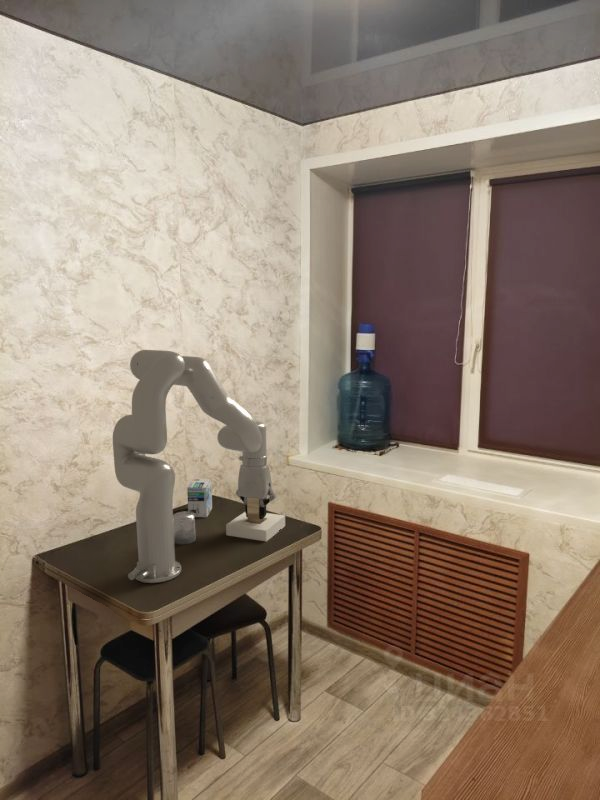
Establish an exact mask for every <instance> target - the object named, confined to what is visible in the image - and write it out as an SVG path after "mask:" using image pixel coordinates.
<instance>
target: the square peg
mask: <svg viewBox="0 0 600 800" xmlns="http://www.w3.org/2000/svg"><path fill="white" fill-rule="evenodd" d="M259 507H261V505H260V500H259V499H257V498H249V497H247V516H248V522H249V523H256V524H261V523H262V522H264V521H265V520H264V518H263V519H260V518H259Z"/></svg>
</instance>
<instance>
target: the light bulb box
mask: <svg viewBox="0 0 600 800" xmlns="http://www.w3.org/2000/svg"><path fill="white" fill-rule="evenodd" d="M186 492H187V511H189V512H193V513H194V517H195V518H208V516H209V515H210V513H211V511H212V509H213V496H212V493H213V492H212V478H193V479H192V480H191V482H190V483H189V484H188V485H187V487H186Z"/></svg>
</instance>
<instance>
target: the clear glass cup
mask: <svg viewBox="0 0 600 800" xmlns="http://www.w3.org/2000/svg"><path fill="white" fill-rule="evenodd" d="M195 518H196V517H194V513H193V512H189V511H188V510H186V511H185V510H184V511H179V512H176V513H173V525H174V544H177V545H188V544H191V543H193V542H195V541H196V539H197V536H196V535H197V534H196V519H195Z"/></svg>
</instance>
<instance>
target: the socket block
mask: <svg viewBox="0 0 600 800" xmlns="http://www.w3.org/2000/svg"><path fill="white" fill-rule="evenodd" d="M264 520H265V521H264V522H262V523H261V524H256V523H249V522H248V517H246V513H245V511H244V512H243V513H241V514H239V515H238V516H236V517H235V518H234V519H232V520H231V521H229V522H228V523H226V525H225V530H226V532H225V535H226V536H229V537H234V538H235V537H236V538H241V539H247V540H255V541H259V542H268V541H269V540H270V539H272V538H273V536H275V535H277V534H278V533H279V532H280V531H281V530H282V529H284V528H285V526H286V515H283V514H277V513H269V512H266V516H265V517H264ZM280 529H281V530H280ZM279 530H280V531H279Z"/></svg>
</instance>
